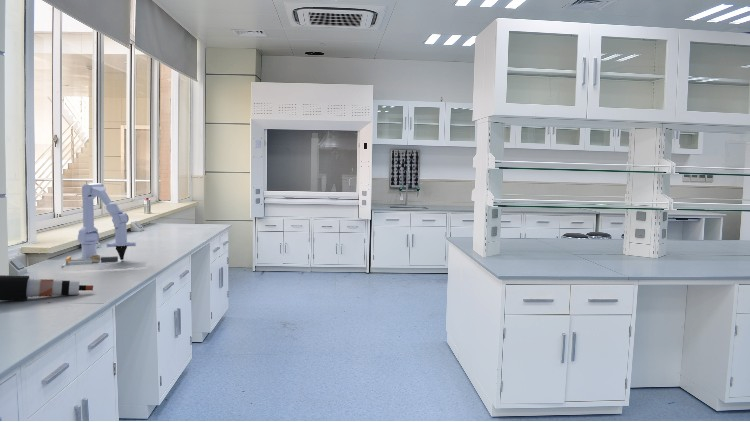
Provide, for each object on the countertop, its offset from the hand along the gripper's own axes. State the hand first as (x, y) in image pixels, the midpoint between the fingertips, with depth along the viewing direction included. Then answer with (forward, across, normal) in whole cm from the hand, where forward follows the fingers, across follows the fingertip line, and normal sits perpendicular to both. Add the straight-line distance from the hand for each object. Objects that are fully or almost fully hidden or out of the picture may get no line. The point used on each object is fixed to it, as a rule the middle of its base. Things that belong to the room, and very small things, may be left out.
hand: (121, 259), depth 289 cm
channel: (+2, -14, 0) cm, 14 cm away
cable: (+2, -19, -70) cm, 72 cm away
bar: (+1, -6, 0) cm, 6 cm away
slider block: (0, -13, 0) cm, 13 cm away
